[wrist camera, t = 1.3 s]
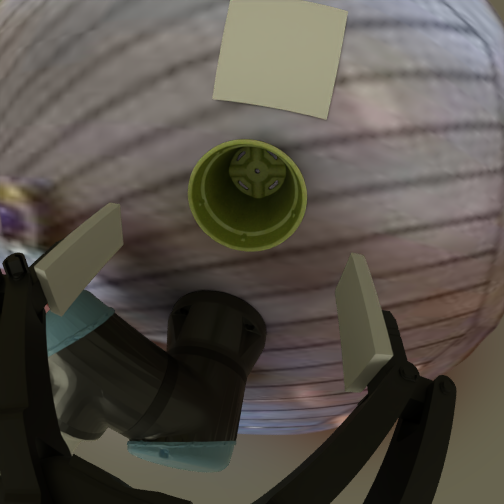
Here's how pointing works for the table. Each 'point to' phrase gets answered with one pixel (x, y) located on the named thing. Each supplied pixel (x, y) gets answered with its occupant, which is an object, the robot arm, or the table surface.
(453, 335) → the table surface
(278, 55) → the plate
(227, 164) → the plant pot
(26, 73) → the table surface
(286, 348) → the table surface
